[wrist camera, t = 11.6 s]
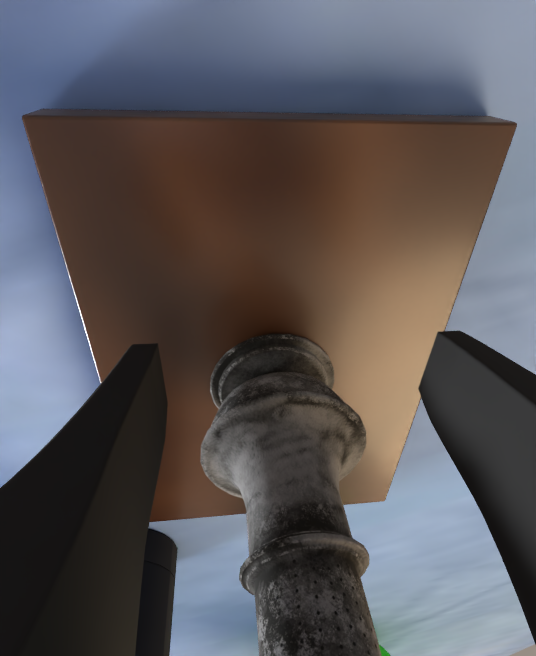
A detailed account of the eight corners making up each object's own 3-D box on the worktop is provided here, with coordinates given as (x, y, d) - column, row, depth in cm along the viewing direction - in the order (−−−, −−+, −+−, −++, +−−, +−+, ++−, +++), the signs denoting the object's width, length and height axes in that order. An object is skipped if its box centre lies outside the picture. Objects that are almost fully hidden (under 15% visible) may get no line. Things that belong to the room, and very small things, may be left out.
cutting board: (145, 498, 23) (141, 523, 22) (40, 108, 11) (19, 115, 10) (376, 479, 24) (385, 501, 23) (490, 115, 13) (519, 122, 12)
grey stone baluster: (301, 301, 14) (480, 823, 5) (361, 393, 18) (542, 818, 8) (173, 372, 16) (104, 899, 6) (250, 446, 19) (288, 868, 9)
